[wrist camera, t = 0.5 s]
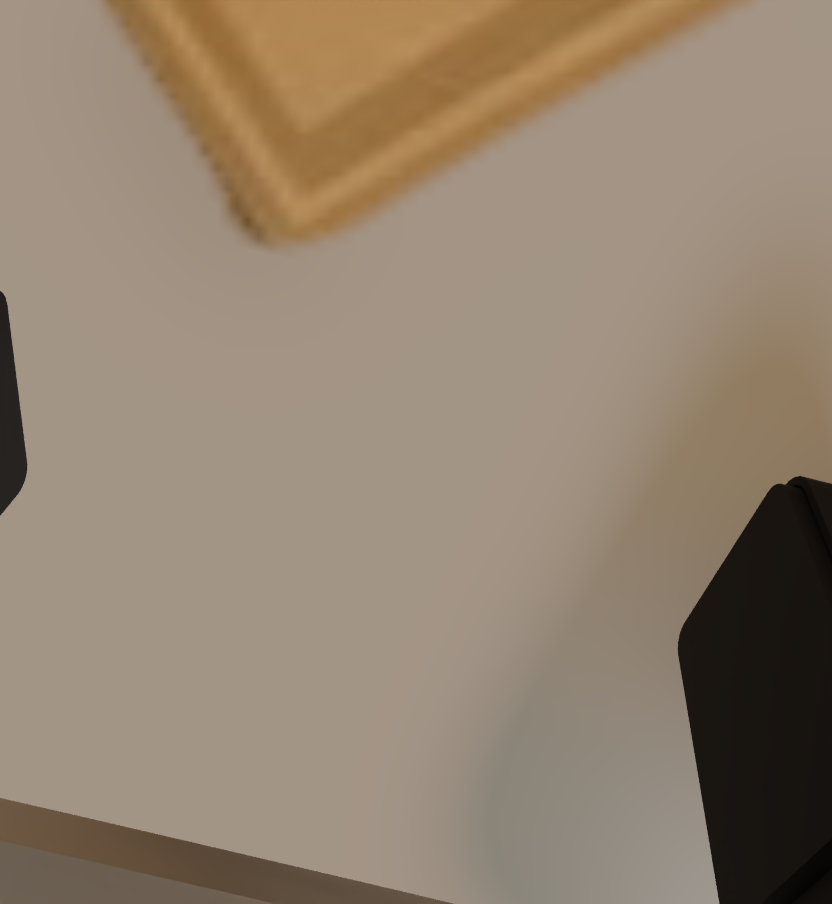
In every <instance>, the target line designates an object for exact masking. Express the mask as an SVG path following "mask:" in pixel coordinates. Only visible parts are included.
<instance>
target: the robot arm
mask: <svg viewBox="0 0 832 904" xmlns="http://www.w3.org/2000/svg"><path fill="white" fill-rule="evenodd" d="M26 473H27V459H26V451H25V443H24V435H23V427H22V419H21V411H20V403H19V395H18V387H17V379H16V371H15V363H14V354H13V347H12V339H11V331H10V323H9V315H8V306H7V302H6V298H5V296H4V294H3V293H2V292H1V291H0V515H1V514H2V513H3V512H4V510H5V509H6V508H7V507H8V505H9V504H10V503H11V502H12V500H13V499H14V498H15V497H16V496H17V495H18V493H19V491H20V490H21V488H22V486H23V484H24V481H25V478H26ZM678 656H679V662H680V668H681V674H682V680H683V685H684V691H685V698H686V704H687V710H688V716H689V722H690V728H691V734H692V740H693V747H694V753H695V759H696V764H697V771H698V777H699V783H700V789H701V795H702V801H703V807H704V813H705V819H706V825H707V831H708V836H709V842H710V849H711V855H712V861H713V867H714V873H715V879H716V885H717V891H718V898H719V904H832V484H830V483H826V482H822V481H818V480H814V479H810V478H806V477H802V476H799V477H795V478H793V479H791V480H790V481H788V483H787V484H786V485H783V484H776V485H774V486H773V487H772V488H771V489H770V490H769V492H768V493H767V495H766V496H765V498H764V499H763V501H762V502H761V504H760V505H759V507H758V509H757V510H756V512H755V513H754V515H753V517H752V518H751V520H750V521H749V523H748V524H747V526H746V527H745V529H744V531H743V532H742V534H741V535H740V537H739V538H738V540H737V542H736V543H735V545H734V546H733V548H732V549H731V551H730V553H729V554H728V556H727V557H726V559H725V560H724V562H723V564H722V565H721V567H720V568H719V570H718V571H717V573H716V574H715V576H714V577H713V579H712V581H711V582H710V584H709V585H708V587H707V588H706V590H705V592H704V594H703V595H702V596H701V598H700V599H699V601H698V603H697V604H696V606H695V608H694V609H693V610H692V612H691V614H690V615H689V617H688V618H687V620H686V621H685V623H684V625H683V627H682V629H681V632H680V635H679V641H678ZM0 904H452V903H448V902H444V901H440V900H436V899H432V898H427V897H423V896H419V895H415V894H411V893H406V892H402V891H398V890H394V889H389V888H385V887H381V886H377V885H372V884H368V883H364V882H359V881H355V880H351V879H347V878H342V877H338V876H334V875H329V874H325V873H321V872H317V871H313V870H308V869H304V868H300V867H295V866H291V865H287V864H282V863H278V862H274V861H270V860H265V859H261V858H257V857H253V856H248V855H244V854H240V853H235V852H231V851H227V850H223V849H219V848H214V847H209V846H205V845H201V844H197V843H192V842H188V841H184V840H180V839H175V838H171V837H167V836H163V835H158V834H154V833H149V832H146V831H141V830H137V829H133V828H128V827H124V826H120V825H115V824H110V823H107V822H103V821H98V820H94V819H89V818H85V817H81V816H77V815H72V814H68V813H63V812H59V811H55V810H50V809H46V808H42V807H37V806H32V805H28V804H24V803H20V802H15V801H11V800H7V799H2V798H0Z"/></svg>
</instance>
